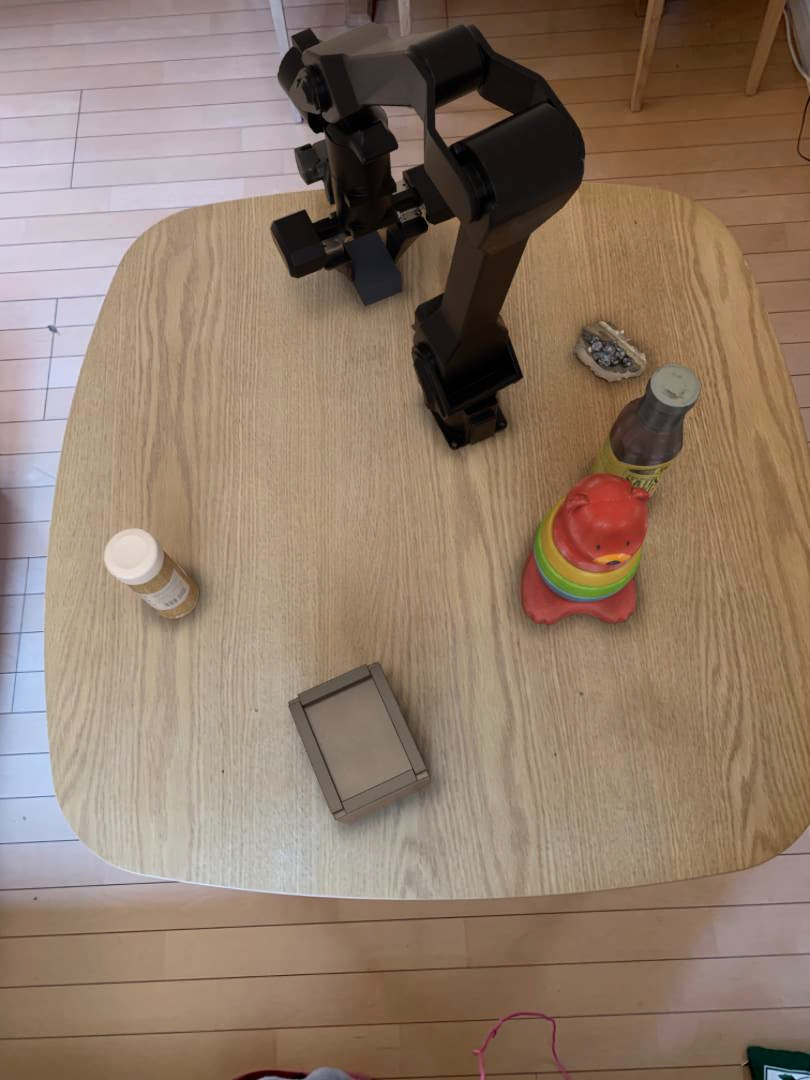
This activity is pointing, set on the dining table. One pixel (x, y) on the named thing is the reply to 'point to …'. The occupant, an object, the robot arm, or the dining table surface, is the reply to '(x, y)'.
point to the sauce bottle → (650, 429)
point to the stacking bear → (587, 553)
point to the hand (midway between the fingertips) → (371, 271)
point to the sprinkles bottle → (151, 572)
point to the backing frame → (358, 743)
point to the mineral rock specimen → (609, 352)
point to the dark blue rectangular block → (373, 268)
